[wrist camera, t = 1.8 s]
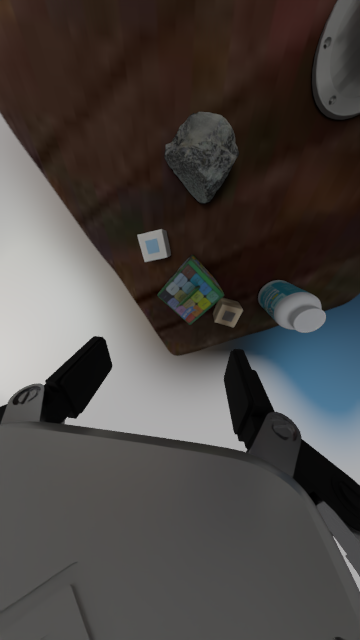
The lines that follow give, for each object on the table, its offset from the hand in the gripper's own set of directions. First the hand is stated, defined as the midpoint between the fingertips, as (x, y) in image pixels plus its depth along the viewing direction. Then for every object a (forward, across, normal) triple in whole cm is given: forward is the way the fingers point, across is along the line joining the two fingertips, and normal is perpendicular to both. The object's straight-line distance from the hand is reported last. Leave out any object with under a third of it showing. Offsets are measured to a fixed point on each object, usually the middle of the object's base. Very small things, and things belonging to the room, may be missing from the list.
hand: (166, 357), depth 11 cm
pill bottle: (+29, -21, +3) cm, 36 cm away
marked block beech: (+29, -10, +8) cm, 32 cm away
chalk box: (+29, -1, +1) cm, 29 cm away
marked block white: (+29, +7, -7) cm, 30 cm away
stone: (+29, -1, -19) cm, 35 cm away
